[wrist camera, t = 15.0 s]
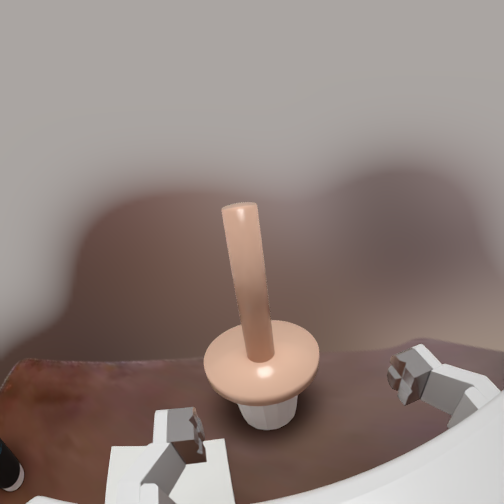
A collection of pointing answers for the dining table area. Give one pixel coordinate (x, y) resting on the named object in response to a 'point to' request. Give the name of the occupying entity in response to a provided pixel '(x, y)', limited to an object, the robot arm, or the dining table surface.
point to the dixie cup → (9, 469)
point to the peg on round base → (257, 328)
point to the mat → (182, 475)
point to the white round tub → (269, 414)
